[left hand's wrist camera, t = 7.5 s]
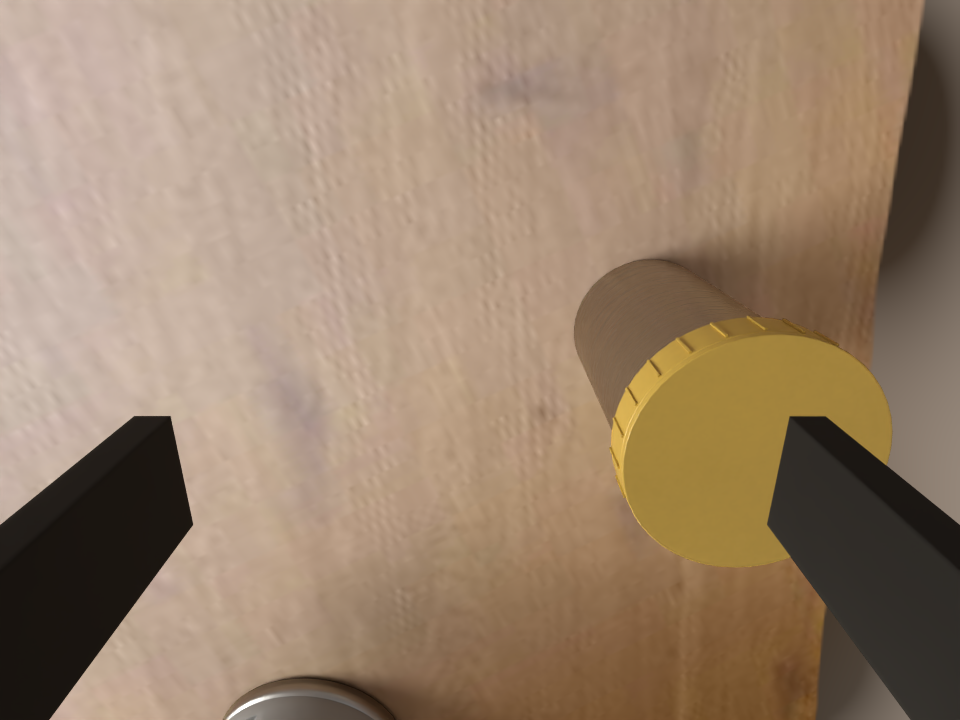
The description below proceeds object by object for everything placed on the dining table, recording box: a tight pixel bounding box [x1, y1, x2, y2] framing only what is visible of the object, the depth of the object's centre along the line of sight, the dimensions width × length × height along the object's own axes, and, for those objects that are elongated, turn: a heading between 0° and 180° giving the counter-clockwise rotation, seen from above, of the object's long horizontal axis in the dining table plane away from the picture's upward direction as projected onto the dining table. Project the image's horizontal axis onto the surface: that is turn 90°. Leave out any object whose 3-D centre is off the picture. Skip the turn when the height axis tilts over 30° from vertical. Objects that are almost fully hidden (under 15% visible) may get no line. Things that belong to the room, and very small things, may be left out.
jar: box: [574, 260, 761, 430], centre depth 29 cm, size 9×9×15 cm
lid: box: [610, 316, 892, 567], centre depth 22 cm, size 10×10×2 cm
